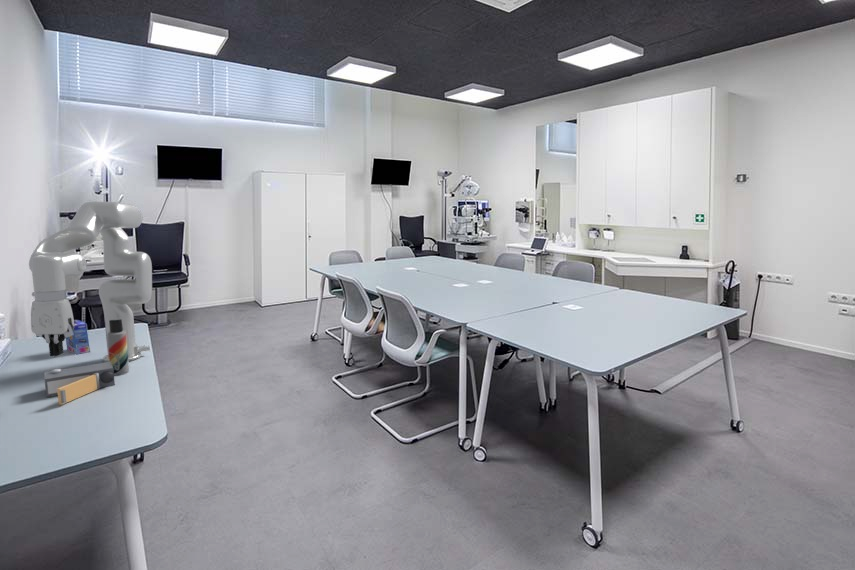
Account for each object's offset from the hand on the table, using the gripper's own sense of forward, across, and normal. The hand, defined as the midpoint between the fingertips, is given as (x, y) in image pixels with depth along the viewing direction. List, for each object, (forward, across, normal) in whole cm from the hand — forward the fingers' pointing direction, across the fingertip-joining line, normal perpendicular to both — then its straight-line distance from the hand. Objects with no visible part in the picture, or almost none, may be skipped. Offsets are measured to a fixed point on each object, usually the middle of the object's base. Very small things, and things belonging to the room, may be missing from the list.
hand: (56, 354), depth 143 cm
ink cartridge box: (+14, -30, +48) cm, 58 cm away
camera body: (+14, -1, +10) cm, 18 cm away
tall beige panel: (+14, +4, +2) cm, 15 cm away
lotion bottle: (+14, +2, +24) cm, 29 cm away
